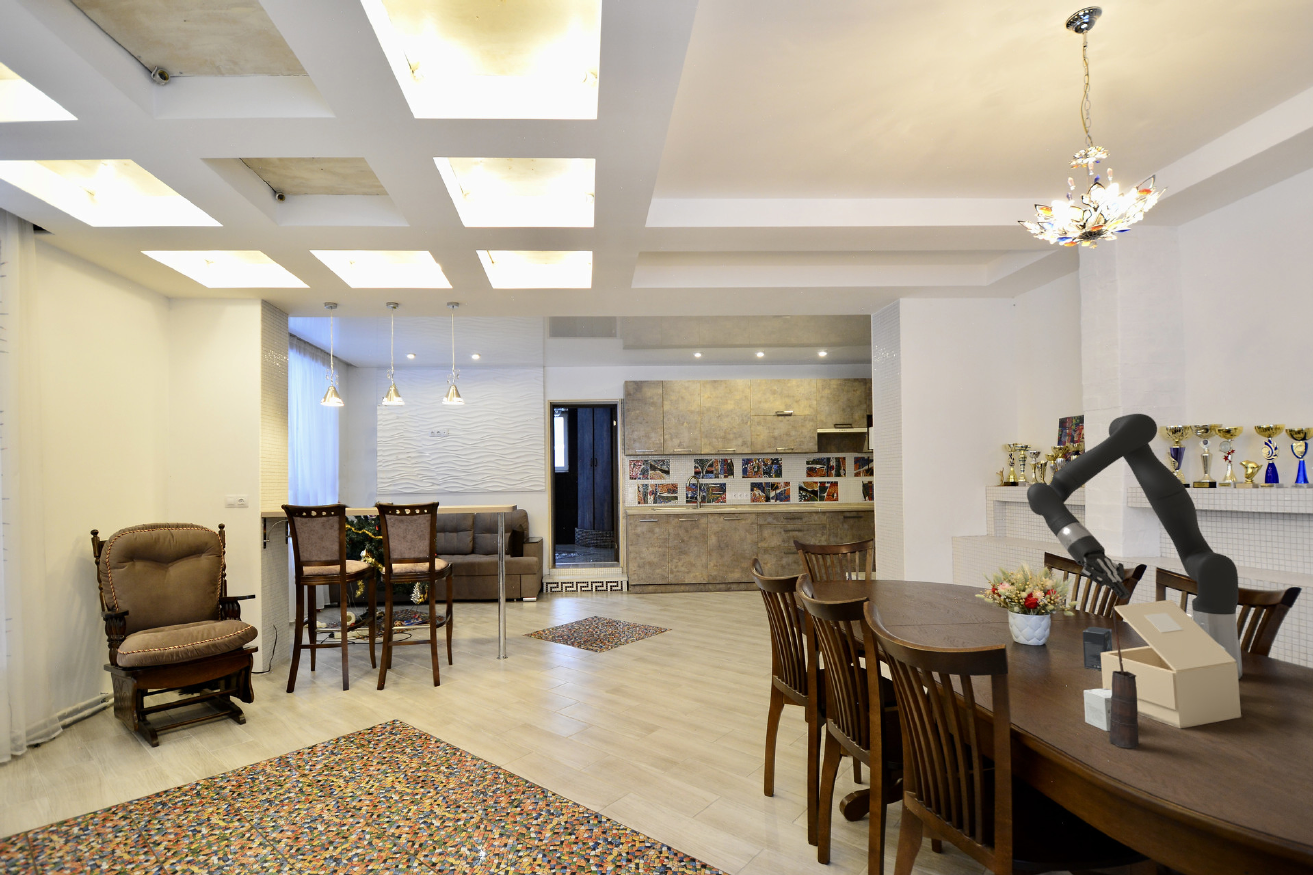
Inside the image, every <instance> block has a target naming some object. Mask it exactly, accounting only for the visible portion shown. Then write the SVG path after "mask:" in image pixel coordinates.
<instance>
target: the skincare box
mask: <svg viewBox="0 0 1313 875" xmlns="http://www.w3.org/2000/svg"><path fill="white" fill-rule="evenodd" d="M1111 696H1112V690H1110V689H1107V688H1103V687H1102V688H1093V689H1084V690H1083V701H1084V702H1083V703H1084V722H1085V723H1087V724H1088V725H1091V726H1092V727H1096V728H1098V729H1100V730H1102V731H1104V732H1110V718H1111V700H1112V699H1111Z"/></svg>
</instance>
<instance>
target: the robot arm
mask: <svg viewBox="0 0 1313 875" xmlns="http://www.w3.org/2000/svg"><path fill="white" fill-rule="evenodd" d="M1157 432H1158V424H1157V423H1156V421H1155V419H1154V418H1152V417H1151V416H1149V415H1148V414H1144V413H1132V414H1127V415H1122V416H1119V417H1117V418H1115V419H1113V420H1112V421H1111V422H1110V424H1109V427H1108V435H1109V436H1108V437H1107V438H1106V439H1105V440H1103V441H1101V442H1100V443H1098V444H1097V445H1095V446H1094V447H1092V448H1090V449H1089V450H1087V451H1086V452H1083V453H1081V454H1079V455H1078V456H1077V457H1075V458H1074V459H1072V460H1070V461H1069V462H1068V463H1066V464H1065V465H1063V466H1062V467H1060V468H1059V469H1058V470H1057V471H1055V473H1054V474H1053V475H1052V477H1051V481H1050V483H1049V484H1047V483H1045V482H1044V483H1043V482H1036V483H1032V484H1031V485H1030V486H1029V487H1028V489H1027V492H1026V498H1027V501H1028V502H1027V503H1028V504H1029V508H1030V510H1031V511H1032V512H1033V513H1034V514H1036V515H1038V516H1042V517H1043V519H1044V520H1045V523H1046V525H1047V527H1048V528H1049V530H1050V531H1051V532H1052V533H1053V535H1054V536H1055V537H1056V538H1057V539H1058V541H1059V542H1060V544H1061V545H1062V547H1063V548H1064V549H1065V550H1066V552H1067V553H1068V554H1069V555H1070V557H1071V558H1072V559H1073V560H1074V561H1075V562H1076V564H1077V565H1078V566H1082V567H1083V568H1082V569H1081V571H1080V574H1081V575H1082V576H1083V577H1085V578H1088V579H1089V580H1091V581H1092V582H1094V583H1096V584H1097V585H1099V586H1101V587H1104V586H1106V587H1107V588H1110V589H1111V590H1112V591H1113V593H1114V594H1115V595H1116V596H1117V597H1118V598H1119V599H1120V600H1125V599H1128V598H1129V597H1130V596H1131V592H1130V591H1129V589H1127V587H1126V586H1125V585H1124V584H1123V581H1125V579H1126V575H1125V574H1126V573H1125V565H1124V564H1123V563H1121V562H1119V563H1114V562H1113V561H1112V559H1111V558H1109V557H1108V556H1107V555H1106V554H1105V553H1106V550H1105V548H1104V546H1103V545H1102V544H1101V543H1100V542H1099V540H1098V539H1096V537H1095V536H1094V535H1093V534H1092V533H1091V532H1090V531H1089V530H1088V529H1087V528H1086V527H1085V526H1084V525H1083V524H1082V523H1081V522H1080V520H1078V518H1077V517H1076V516H1075V515H1074V514H1073V513H1072V512H1071V511H1070V510H1069V509H1068V507H1067V505H1066V504H1065V502H1066V501H1067V500H1068V499H1069V498H1070V496H1071V495H1072V494H1073V493H1074V492H1075V491H1077V490H1078V489H1079V488H1081V487H1083V486H1084V485H1085V484H1086V483H1089V481H1090V480H1091V479H1093V478H1094V477H1096V475H1098V474H1100V473H1101V472H1102V471H1104V470H1105V469H1106V468H1107V467H1109V466H1110V465H1112V464H1114V463H1115V462H1116V461H1118V460H1119V459H1121V458H1123V459H1124V460H1125V461H1126V463H1127V464H1128V466H1129V467H1130V469H1131V471H1132V473H1133V475H1134V477H1135V479H1136V481H1137V482H1138V484H1139V486H1140V487H1141V489H1142V492H1143V493H1144V495H1145V497H1146V499H1147V500H1148V502H1149V505H1150V506H1151V508H1152V510H1153V512H1154V513H1155V515H1156V516H1157V518H1158V519H1159V521H1160V523H1161V525H1162V526H1163V528H1164V530H1165V531H1166V533H1167V535H1168V536H1169V537H1170V539H1171V541H1172V543H1173V545H1174V547H1175V549H1176V552H1177V554H1178V556H1179V559H1180V562H1181V564H1182V566H1183V568H1184V571H1185V573H1186V574H1187V576H1188V577H1189V578H1190V579H1191V580H1194V581H1193V582H1196V584H1197V595H1196V596H1195V597H1194V598H1193V599H1192V600H1191V602H1192V603H1191V608H1192V620H1193V621H1195V622H1196V623H1197V624H1198V625H1199V626H1200V627H1201V628H1202V629H1203V630H1204V631H1205V632H1206V633H1207V634H1208V635H1209V636H1210V637H1211V638H1212V639H1214V640H1215V641H1216V642H1217V643H1218V644H1219V645H1221V646H1222V647H1224V648H1225V649H1226V652H1227V653H1228V654H1229V655H1230V656H1231V657H1233V658H1234V659H1235V660H1236V662H1235V663H1237V670H1238V680H1239V679H1241V677H1243V664H1242V663H1243V662H1242V652H1241V641H1240V640H1239V637H1238V636H1239V635H1238V623H1237V622H1238V621H1237V610H1236V607H1237V605H1238V602H1239V575H1238V569H1237V566H1236V564H1235V562H1234V561H1233V560H1232V559H1231V557H1229V556H1226V555H1224V554H1221V553H1218V552H1214V550H1213V549H1212V548H1211V546H1210V545H1209V543H1208V542H1207V540H1206V538H1205V537H1204V536H1203V534H1202V532H1201V530H1200V527H1199V526H1200V525H1199V522H1198V521H1199V520H1198V516H1197V510H1196V507H1195V503H1194V500H1193V499H1192V497H1191V495H1190V494H1189V492H1188V490H1187V488H1186V487H1185V485H1184V484H1183V482H1182V481H1181V480H1180V479H1179V477H1178V476H1177V475H1176V474H1175V473H1174V472H1173V471H1172V470H1170V469H1169V468H1168V467H1167V466H1166V465H1165V464H1164V463H1163V462H1162V461H1160V459H1159V458H1158V457H1157V455H1156V454H1155V453H1154V451H1153V449H1152V448H1151V446H1150V442H1152V441H1153V440H1154V439H1155V437H1156V435H1157Z"/></svg>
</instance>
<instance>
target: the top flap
mask: <svg viewBox="0 0 1313 875" xmlns="http://www.w3.org/2000/svg"><path fill="white" fill-rule="evenodd" d="M1113 607H1114V608H1115V612H1117V613H1118V614H1119V615H1120V617H1121V618H1123V620H1125V622H1126V623H1127V624H1128V625H1129V626H1130V627H1131V628H1132V629H1133V630H1134V631H1135V632H1136V633H1137V634H1138V635H1139V636H1140V637H1141V638H1142V640H1144V642H1145V643H1147V645H1148V646H1151V648H1152V649H1153V650H1154V651H1155V652H1156V653H1157V654H1158V655H1159V656H1160V657H1161V658H1162V659H1163V660H1164V661H1165V662H1166V663H1167V664H1168V665H1169V666H1170V667H1171V668H1172V669H1173V670H1174V671H1175V672H1178V671H1184V670H1190V669H1197V668H1203V667H1210V666H1216V665H1222V664H1229V663H1235V662H1236V660H1235V659H1234V658H1233V657H1231V656H1230V655H1229V654H1228V653H1227V652H1226V651H1225V650H1224V649H1223V648H1222V647H1221V646H1220V645H1219V644H1218V643H1217V642H1216V641H1215V640H1214V639H1212V638H1211V637H1210V636H1209V635H1208V634H1207V633H1206V632H1205V631H1204V630H1203V629H1202V628H1201V627H1200V626H1199V625H1198V624H1197V623H1196V622H1195V621H1193V618H1192V619H1191V618H1190V617H1189V616H1188V615H1187V614H1188V613H1187V612H1186V611H1184V610H1183V609H1182V608H1181V607H1180V605H1178V604H1177V603H1176V602H1175V601H1173V600H1172V599H1168V600H1159V601H1149V602H1148V601H1147V602H1141V603H1132V604H1131V603H1130V604H1124V605H1123V604H1122V605H1115V606H1113Z"/></svg>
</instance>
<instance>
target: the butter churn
mask: <svg viewBox="0 0 1313 875" xmlns="http://www.w3.org/2000/svg"><path fill="white" fill-rule="evenodd" d="M1114 607H1115V606H1112V607H1111V612H1112V620H1113V626H1114V632H1115V639H1116V648H1117V650H1118V655H1119V663H1120V669H1121V671H1113V673H1112V674H1113V675H1112V696H1111V699H1112V700H1111V718H1110V731H1109V738H1108V739H1109V743H1110V744H1113V745H1115V746H1117V747H1120V748H1124V749H1137V747H1139V745H1140V744H1139V741H1140V740H1139V738H1140V737H1139V721H1138V720H1139V719H1138V715H1139V714H1138V709H1137V708H1138V707H1137V687H1136V680H1135V677H1136V675H1134V674H1132V673H1130V672H1128V671H1124V670H1123V664H1122V657H1121V651H1120V650H1121V644H1120V639H1119V638H1120V637H1119V636H1120V635H1119V630H1118V624H1117V616H1116V610H1115V608H1114Z"/></svg>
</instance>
